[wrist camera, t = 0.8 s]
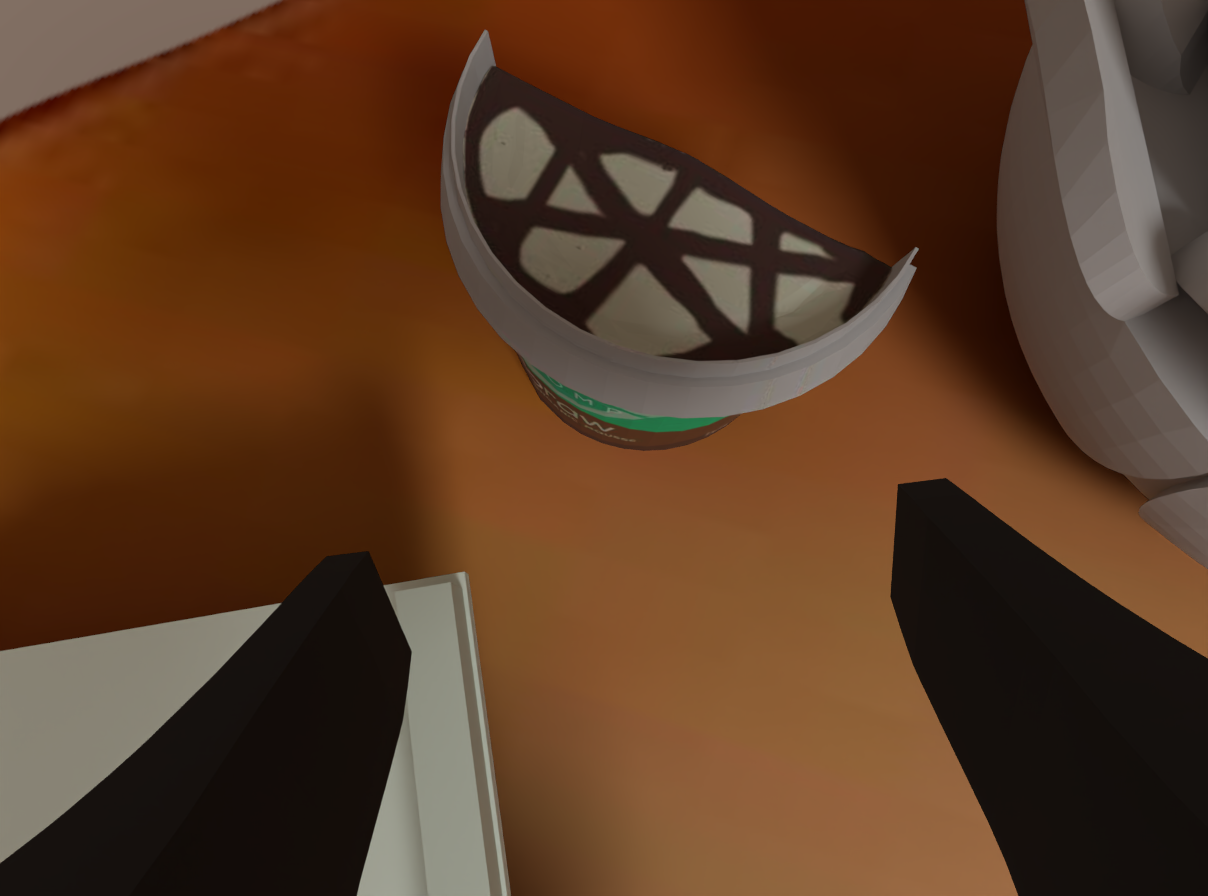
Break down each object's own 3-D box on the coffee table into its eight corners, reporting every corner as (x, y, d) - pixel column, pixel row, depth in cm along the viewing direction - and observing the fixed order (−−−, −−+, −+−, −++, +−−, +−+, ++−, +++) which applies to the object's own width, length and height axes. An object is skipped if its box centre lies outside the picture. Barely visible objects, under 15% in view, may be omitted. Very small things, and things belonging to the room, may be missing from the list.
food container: (407, 377, 26) (315, 220, 17) (500, 237, 28) (465, 19, 18) (727, 553, 25) (827, 495, 16) (804, 399, 27) (940, 258, 17)
